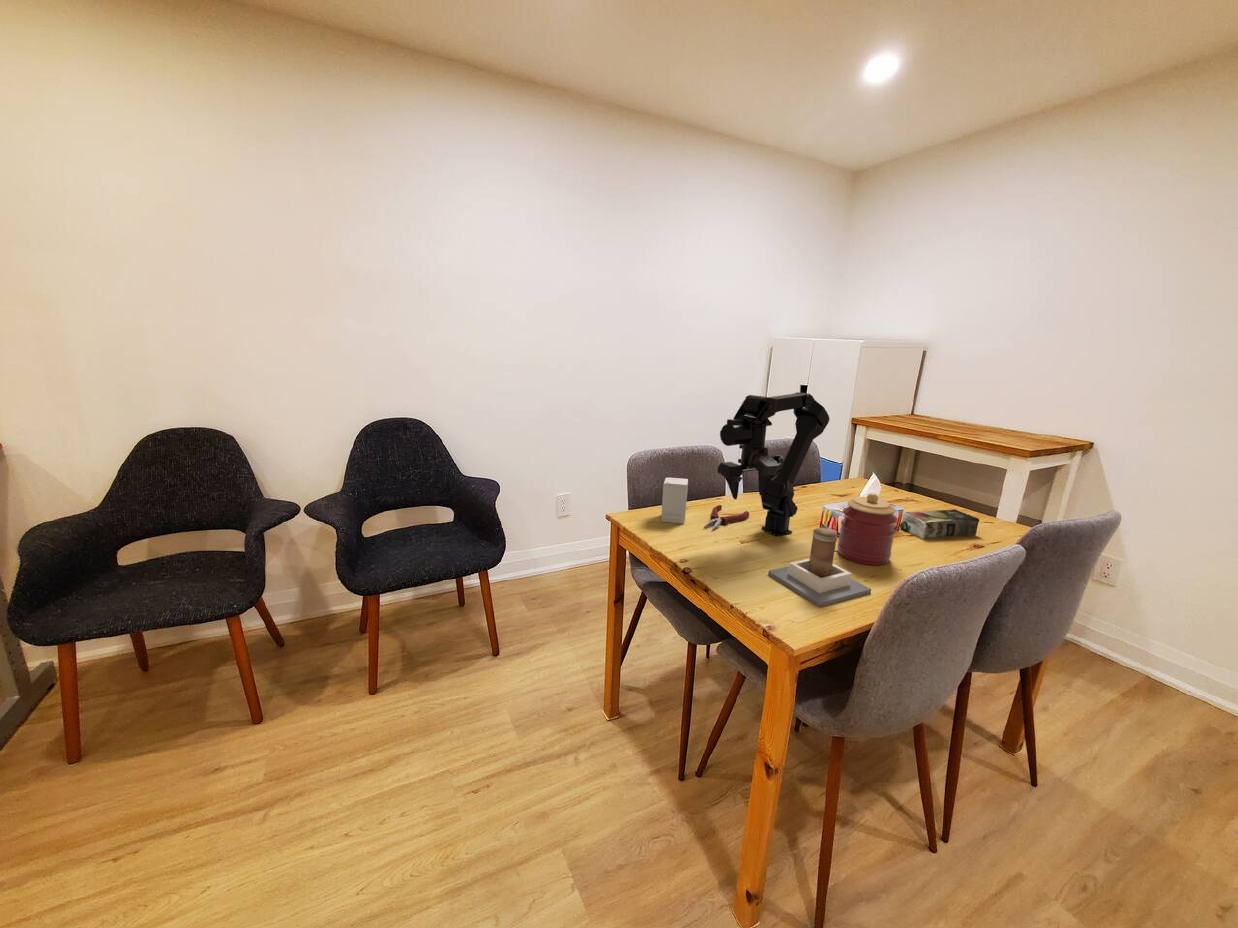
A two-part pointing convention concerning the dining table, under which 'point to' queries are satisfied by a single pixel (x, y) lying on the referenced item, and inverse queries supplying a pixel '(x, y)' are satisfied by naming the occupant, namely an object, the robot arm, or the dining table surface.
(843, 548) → the canister
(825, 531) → the brown upright cylinder
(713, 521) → the pliers
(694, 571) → the dining table surface
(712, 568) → the dining table surface
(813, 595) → the docking plate
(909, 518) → the juice carton
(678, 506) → the supplement box
